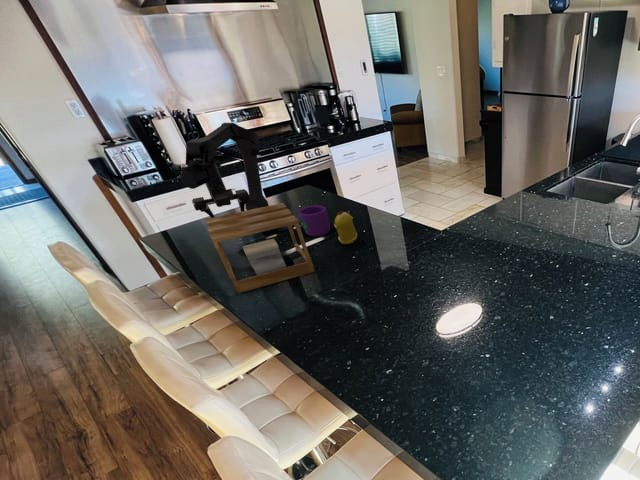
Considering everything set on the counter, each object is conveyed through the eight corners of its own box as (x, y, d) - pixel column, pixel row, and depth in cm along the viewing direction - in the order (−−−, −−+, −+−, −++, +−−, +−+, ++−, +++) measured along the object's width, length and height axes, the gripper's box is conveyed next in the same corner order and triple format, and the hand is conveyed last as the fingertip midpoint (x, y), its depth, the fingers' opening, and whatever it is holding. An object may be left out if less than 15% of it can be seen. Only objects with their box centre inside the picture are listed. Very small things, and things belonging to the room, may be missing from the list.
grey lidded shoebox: (281, 258, 157) (273, 238, 152) (291, 274, 147) (283, 254, 141) (250, 266, 152) (242, 246, 147) (259, 283, 142) (249, 262, 137)
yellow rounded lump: (360, 247, 163) (351, 210, 153) (340, 250, 161) (330, 213, 151) (357, 236, 171) (349, 200, 161) (338, 239, 169) (328, 203, 159)
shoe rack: (228, 268, 152) (204, 218, 139) (299, 250, 162) (282, 202, 150) (237, 293, 137) (212, 240, 125) (314, 271, 148) (297, 220, 135)
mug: (336, 232, 175) (330, 209, 168) (312, 240, 169) (305, 217, 162) (318, 221, 184) (311, 199, 178) (294, 229, 178) (287, 206, 172)
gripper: (185, 190, 136) (207, 234, 146) (244, 180, 143) (260, 222, 154) (183, 182, 143) (204, 225, 153) (239, 172, 151) (255, 214, 161)
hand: (231, 222), depth 155 cm, fingers open, 9 cm apart
